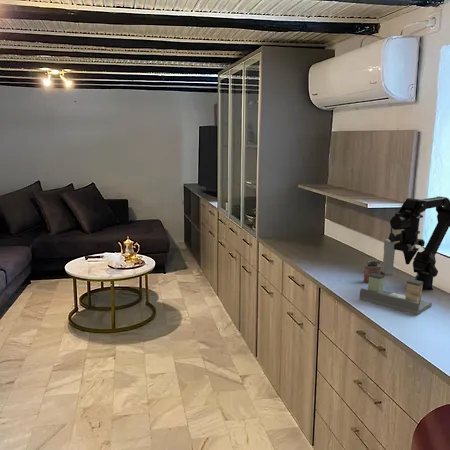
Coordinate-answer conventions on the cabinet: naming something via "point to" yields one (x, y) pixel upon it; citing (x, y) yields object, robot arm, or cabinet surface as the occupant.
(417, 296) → the beech block
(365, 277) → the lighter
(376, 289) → the sage block
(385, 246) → the grey upright bar
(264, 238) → the cabinet surface
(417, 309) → the switch board
